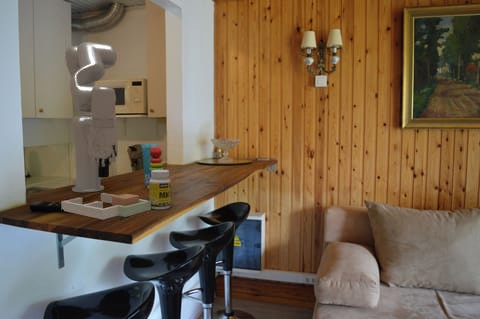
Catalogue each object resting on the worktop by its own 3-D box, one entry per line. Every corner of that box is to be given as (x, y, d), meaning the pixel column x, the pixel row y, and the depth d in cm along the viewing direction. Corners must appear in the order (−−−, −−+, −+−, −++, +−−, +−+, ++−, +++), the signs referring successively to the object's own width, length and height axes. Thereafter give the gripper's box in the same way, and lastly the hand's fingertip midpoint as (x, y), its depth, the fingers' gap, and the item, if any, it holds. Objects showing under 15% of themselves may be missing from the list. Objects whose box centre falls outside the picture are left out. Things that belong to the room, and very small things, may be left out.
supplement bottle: (160, 210, 121) (160, 172, 120) (144, 207, 125) (144, 170, 123) (175, 206, 127) (175, 170, 126) (159, 204, 131) (159, 168, 130)
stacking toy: (154, 187, 164) (154, 145, 162) (169, 188, 161) (169, 146, 159) (143, 190, 156) (143, 146, 154) (159, 191, 153) (159, 147, 152)
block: (112, 211, 119) (112, 196, 119) (126, 208, 125) (126, 193, 124) (125, 214, 117) (125, 198, 116) (139, 210, 122) (139, 195, 121)
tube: (157, 184, 172) (157, 143, 170) (158, 185, 168) (158, 144, 166) (141, 184, 170) (141, 143, 168) (142, 186, 165) (141, 144, 163)
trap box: (60, 210, 119) (60, 201, 119) (103, 200, 134) (103, 192, 134) (109, 221, 107) (109, 211, 107) (150, 209, 122) (150, 201, 122)
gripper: (79, 122, 123) (80, 175, 126) (109, 126, 116) (109, 182, 119) (98, 122, 130) (98, 172, 132) (127, 125, 122) (127, 178, 125)
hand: (103, 177), depth 125 cm, fingers closed
